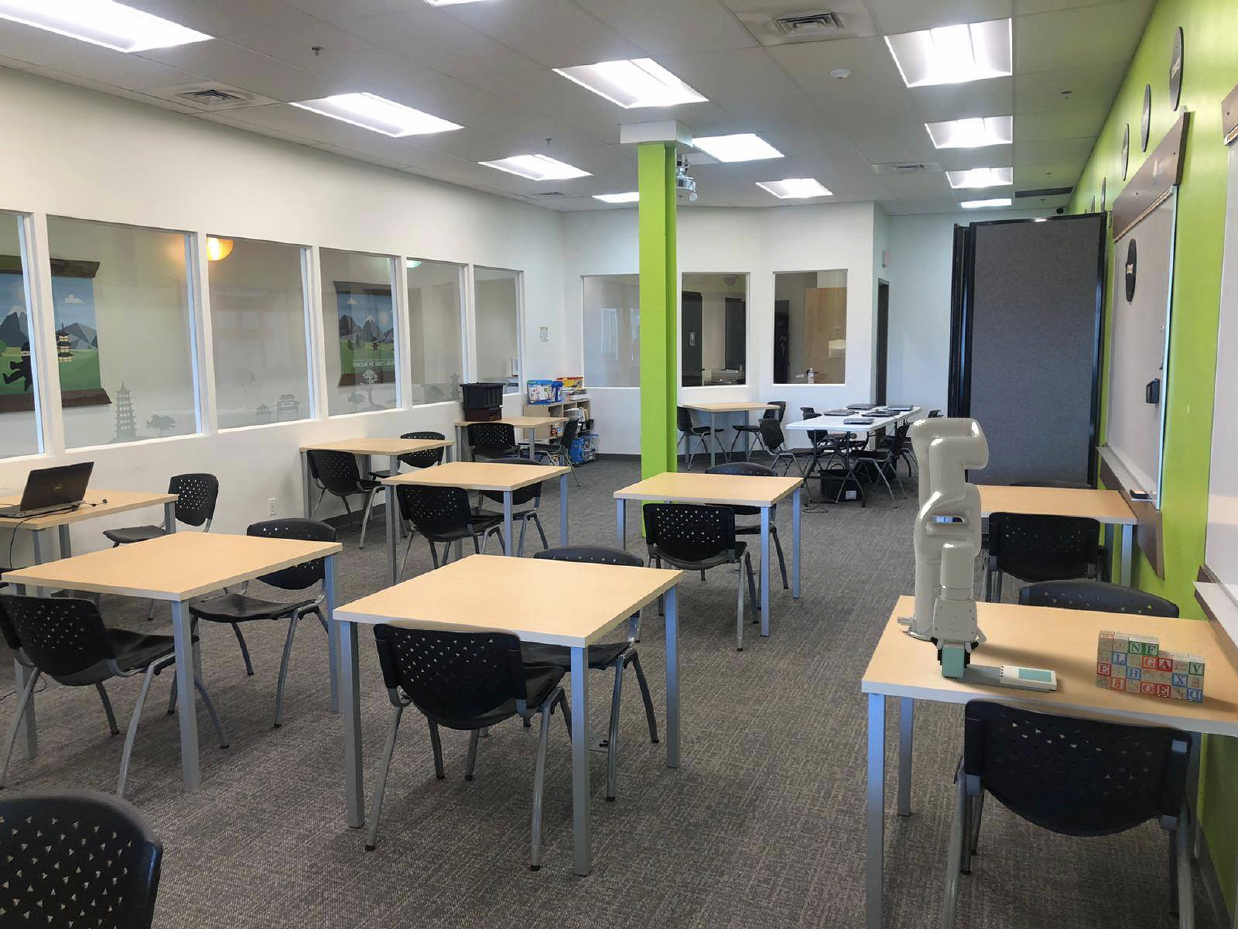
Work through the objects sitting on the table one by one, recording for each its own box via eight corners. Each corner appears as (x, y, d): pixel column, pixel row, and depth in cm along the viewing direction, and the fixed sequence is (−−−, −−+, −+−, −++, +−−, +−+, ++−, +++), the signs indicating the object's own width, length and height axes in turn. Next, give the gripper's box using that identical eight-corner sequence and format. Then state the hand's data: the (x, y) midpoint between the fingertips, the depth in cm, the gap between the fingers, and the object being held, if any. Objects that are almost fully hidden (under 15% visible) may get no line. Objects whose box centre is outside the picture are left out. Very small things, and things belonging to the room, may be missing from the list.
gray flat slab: (956, 681, 221) (957, 674, 221) (959, 664, 233) (960, 657, 233) (1056, 693, 213) (1056, 686, 213) (1054, 675, 225) (1054, 668, 224)
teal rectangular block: (941, 675, 224) (942, 646, 223) (944, 662, 233) (945, 635, 232) (962, 678, 222) (963, 649, 221) (964, 664, 231) (965, 637, 230)
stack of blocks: (1201, 695, 212) (1205, 642, 210) (1202, 704, 207) (1206, 650, 205) (1096, 678, 223) (1099, 628, 221) (1094, 686, 218) (1097, 635, 216)
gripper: (918, 593, 225) (915, 665, 227) (993, 600, 218) (990, 674, 221) (921, 585, 232) (918, 656, 234) (994, 592, 225) (991, 664, 227)
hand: (953, 664), depth 227 cm, fingers closed on teal rectangular block, 4 cm apart
